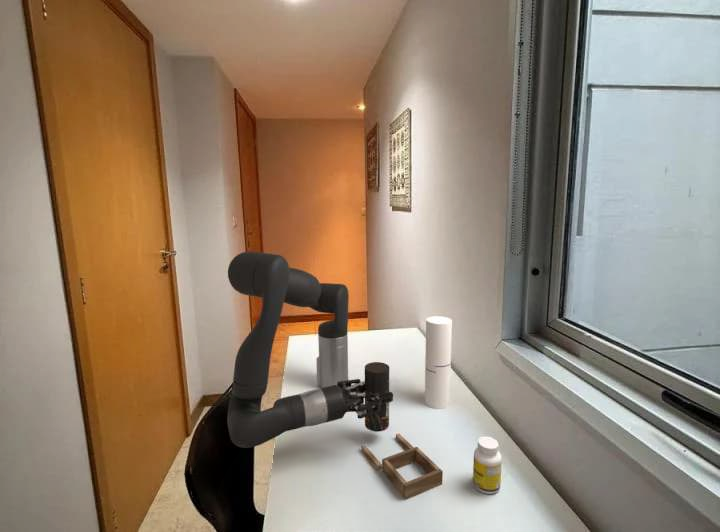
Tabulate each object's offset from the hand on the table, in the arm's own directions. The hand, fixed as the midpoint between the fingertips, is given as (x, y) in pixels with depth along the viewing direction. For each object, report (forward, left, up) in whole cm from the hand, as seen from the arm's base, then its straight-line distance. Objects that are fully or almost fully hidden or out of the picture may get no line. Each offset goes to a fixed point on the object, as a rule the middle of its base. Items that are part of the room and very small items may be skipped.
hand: (385, 390), depth 93 cm
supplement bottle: (+24, -9, -13) cm, 29 cm away
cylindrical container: (+9, +21, -13) cm, 26 cm away
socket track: (+6, -9, -13) cm, 17 cm away
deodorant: (-2, -2, -9) cm, 9 cm away
